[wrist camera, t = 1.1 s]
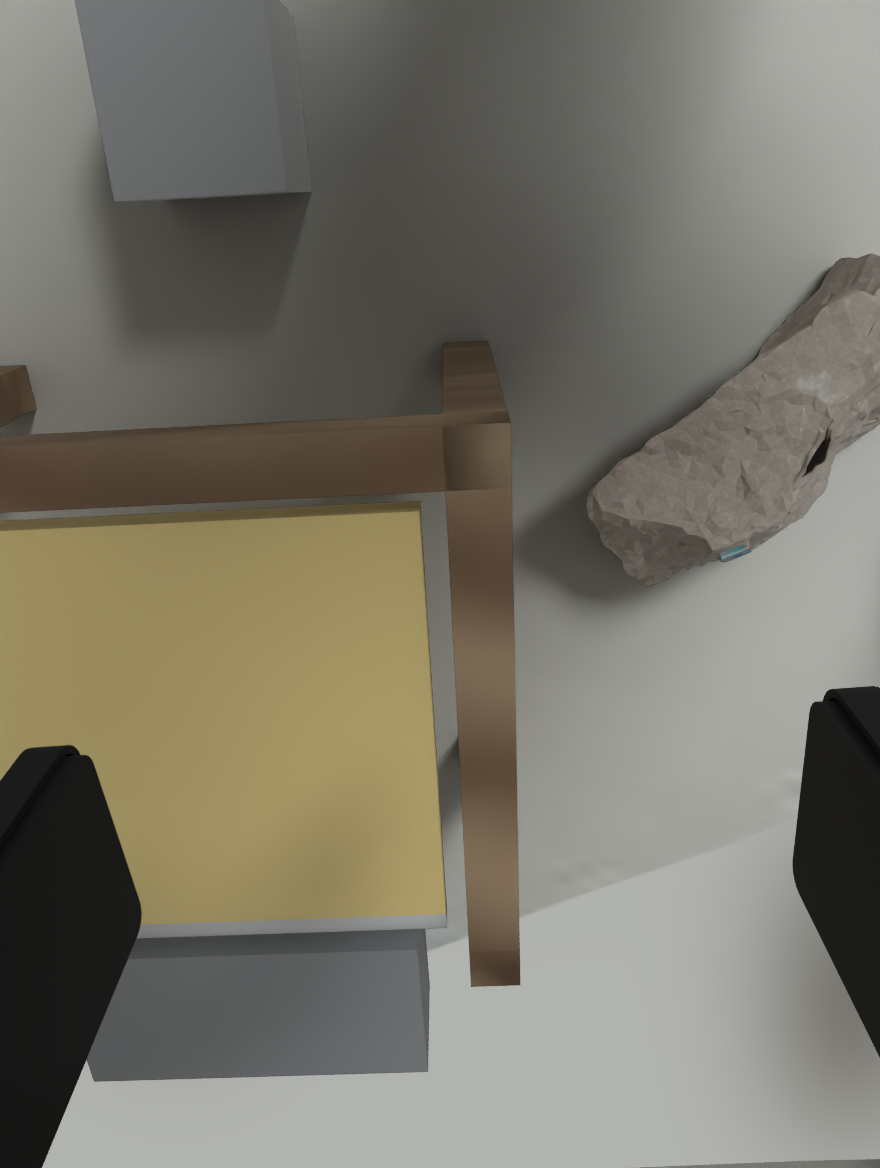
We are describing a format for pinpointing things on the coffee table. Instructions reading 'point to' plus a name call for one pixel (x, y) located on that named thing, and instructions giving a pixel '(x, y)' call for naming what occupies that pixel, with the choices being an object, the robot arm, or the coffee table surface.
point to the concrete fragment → (752, 439)
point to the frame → (349, 468)
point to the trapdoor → (245, 773)
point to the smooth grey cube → (196, 97)
